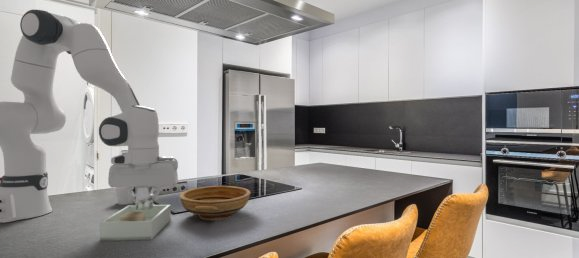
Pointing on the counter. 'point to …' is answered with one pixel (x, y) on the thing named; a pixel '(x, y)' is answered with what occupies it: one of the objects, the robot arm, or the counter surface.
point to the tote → (135, 224)
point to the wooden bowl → (214, 201)
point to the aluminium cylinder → (143, 198)
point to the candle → (122, 196)
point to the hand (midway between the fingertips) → (144, 200)
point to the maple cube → (133, 216)
